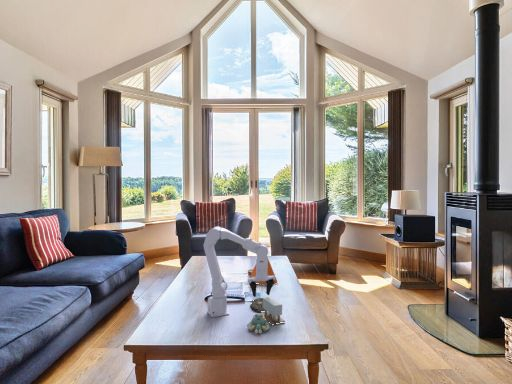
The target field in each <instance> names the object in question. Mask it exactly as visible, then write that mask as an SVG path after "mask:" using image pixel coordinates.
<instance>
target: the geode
mask: <svg viewBox="0 0 512 384" xmlns="http://www.w3.org/2000/svg"><path fill="white" fill-rule="evenodd" d="M253 300H254V301H253ZM251 301H252V304H251V303H250V305H249V308H250V309H251V310H252V311H253V310H254V311H253V312H255V311H258V312H257V313H259V312H261V311H265V309H264V308H263V297H256V298H255V299H252V300H251Z"/></svg>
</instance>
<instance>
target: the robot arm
mask: <svg viewBox="0 0 512 384" xmlns="http://www.w3.org/2000/svg"><path fill="white" fill-rule="evenodd" d="M219 240H220V241H221V240H229V241H232V242H234V243H236V244H240V245H241V246H242V248H243V249H244V250H246V251H248V252H251V253H253V254H256V263H255V265H256V277H252V278H249V277H248V278H247V283H248V284H249V286H250V289H251V293H252V296H253V297H254V298H255V297H256V298H257V287H258V285H257V284H256V283H255V282H259V281H266V284H265V287H266V289H265V293H266V295H267V296H270V293H271V290H272V287H273V286H274V285H275V284H274V281H273V280H275V277H276V275H275V276H274V275H272V276H267V269H268V260H267V258H268V259H269V257H268V254H269V247H268V246H267V244H266V243H262V242H258V241H256V240H253V238H252V237H246V238H243V237H242V236H240V235H238V234H236V233H234V232H232V231H230V230H229V229H227V228H224V227H221V226H219V225H217V226H214V227H213V228H211V229H209V230H208V232H206V234H205V239H204V243H203V251H204V253H205V257H206V260H207V262H206V263H207V265H208V268H209V273H210V275H211V276H210V278H211V286H212V289H211V293H212V295H211V296H209V297H208V298H207V311H206V312H207V314H208V315H209V316H210V317H211V318H216V317H221V316H228V315H230V312H229V311H228V310H227V307H228V305H227V303H228V297H227V296H228V294H227V292H226V291H227V290H228V284H227V282H226V281H225V279H224V277H223V275H222V273H221V267H220V264H219V260H218V257H217V252H216V250H215V245H216V244H217V243H218V241H219Z"/></svg>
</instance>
